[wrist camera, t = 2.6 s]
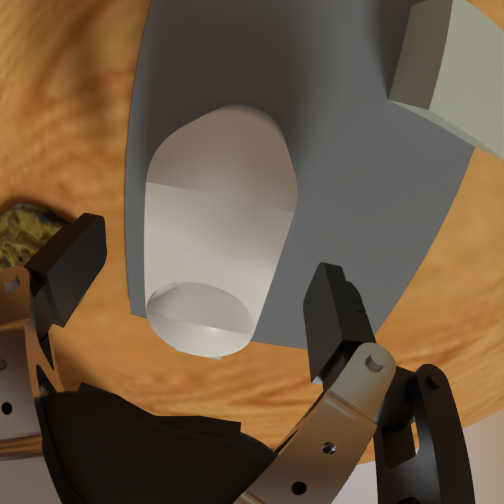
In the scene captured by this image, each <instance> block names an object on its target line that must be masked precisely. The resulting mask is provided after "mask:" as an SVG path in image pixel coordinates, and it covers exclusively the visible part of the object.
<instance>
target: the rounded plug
mask: <svg viewBox="0 0 504 504" xmlns="http://www.w3.org/2000/svg"><path fill="white" fill-rule="evenodd" d="M297 195H298V193H297V181H296V176H295V172H294V169H293V165H292V162H291V158H290V155H289V152H288V148H287V145H286V142H285V138H284V136H283V133H282V131H281V129H280V127H279V125H278V124H277V123H276V121H275V120H274V119H273V118H272V117H271V116H269V115H268V114H267V113H266V112H264V111H262V110H260V109H258V108H256V107H253V106H249V105H243V104H233V105H227V106H223V107H220V108H218V109H215V110H213V111H211V112H209V113H208V114H206V115H204V116H202V117H200V118H198V119H196V120H194V121H192V122H191V123H189V124H187V125H185V126H183V127H181V128H180V129H178V130H177V131H175V132H174V133H172V134H171V135H170V136H169V137H168V138H167V139H165V140H164V142H163V143H162V144H161V145H160V146H159V148H158V149H157V151H156V152H155V154H154V156H153V158H152V160H151V162H150V165H149V168H148V172H147V178H146V191H145V215H144V280H145V304H146V315H147V319H148V322H149V324H150V326H151V328H152V329H153V331H154V332H155V333H156V334H157V335H158V336H159V337H160V338H161V339H162V340H163V341H165V342H166V343H167V344H169V345H171V346H172V347H174V348H175V351H179V352H184V353H188V354H193V355H197V356H202V357H207V358H212V359H217V360H221V356H225V355H229V354H232V353H235V352H237V351H239V350H241V349H242V348H244V347H245V346H246V345H247V344H248V343H249V342H250V340H251V338H252V336H253V334H254V331H255V328H256V325H257V323H258V320H259V317H260V314H261V311H262V308H263V305H264V303H265V300H266V297H267V294H268V291H269V288H270V285H271V282H272V279H273V276H274V273H275V270H276V267H277V264H278V261H279V258H280V255H281V252H282V249H283V246H284V243H285V240H286V237H287V234H288V231H289V228H290V225H291V222H292V219H293V216H294V212H295V208H296V204H297Z"/></svg>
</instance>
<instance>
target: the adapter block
mask: <svg viewBox="0 0 504 504" xmlns="http://www.w3.org/2000/svg"><path fill="white" fill-rule="evenodd" d="M388 100H389V101H391V102H393V103H395V104H398V105H400V106H402V107H404V108H406V109H408V110H410V111H412V112H414V113H416V114H418V115H420V116H422V117H424V118H426V119H428V120H430V121H432V122H433V123H435V124H437V125H439V126H441V127H442V128H444V129H446V130H448V131H449V132H451V133H453V134H454V135H456V136H458V137H459V138H461V139H463V140H464V141H466V142H467V143H469V144H471V145H473V146H475V147H477V148H479V149H481V150H483V151H485V152H487V153H489V154H491V155H493V156H495V157H496V158H498V159H500V160H502V161H504V31H503V30H502V29H501V28H500V27H498V26H497V25H496V24H495V23H494V22H493V21H492V20H490V19H489V18H488V17H487V16H486V15H485V14H483V13H482V12H481V11H480V10H478V9H477V8H476V7H475V6H473V5H472V4H471V3H469V2H468V1H467V0H426V1H424V2H421V3H418V4H416V5H413V6H411V8H410V13H409V18H408V23H407V28H406V32H405V37H404V41H403V45H402V49H401V53H400V57H399V61H398V65H397V69H396V73H395V76H394V80H393V83H392V87H391V90H390V94H389V97H388Z"/></svg>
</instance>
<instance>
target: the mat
mask: <svg viewBox="0 0 504 504" xmlns="http://www.w3.org/2000/svg"><path fill="white" fill-rule="evenodd" d="M424 1H426V0H152V2H151V5H150V9H149V13H148V17H147V21H146V25H145V29H144V33H143V38H142V42H141V47H140V52H139V57H138V63H137V69H136V74H135V81H134V87H133V95H132V102H131V110H130V120H129V130H128V142H127V157H126V178H125V238H126V260H127V275H128V288H129V298H130V308H131V314H133V315H136V316H140V317H144V318H147V315H146V304H145V280H144V215H145V191H146V178H147V172H148V168H149V165H150V162H151V160H152V158H153V156H154V154H155V152H156V151H157V149H158V148H159V146H160V145H161V144H162V143H163V142H164V140H165V139H167V138H168V137H169V136H170V135H171V134H172V133H174V132H175V131H177V130H178V129H180V128H181V127H183V126H185V125H187V124H189V123H191V122H192V121H194V120H196V119H198V118H200V117H202V116H204V115H206V114H208V113H209V112H211V111H213V110H215V109H218V108H220V107H223V106H227V105H233V104H243V105H249V106H253V107H256V108H258V109H260V110H262V111H264V112H266V113H267V114H268V115H269V116H271V117H272V118H273V119H274V120H275V121H276V123H277V124H278V125H279V127H280V129H281V131H282V133H283V136H284V138H285V142H286V145H287V148H288V152H289V155H290V158H291V162H292V165H293V169H294V172H295V176H296V181H297V193H298V195H297V204H296V208H295V212H294V216H293V219H292V222H291V225H290V228H289V231H288V234H287V237H286V240H285V243H284V246H283V249H282V252H281V255H280V258H279V261H278V264H277V267H276V270H275V273H274V276H273V279H272V282H271V285H270V288H269V291H268V294H267V297H266V300H265V303H264V305H263V308H262V311H261V314H260V317H259V320H258V323H257V325H256V328H255V331H254V334H253V336H252V338H251V340H250V341H255V342H261V343H267V344H273V345H280V346H286V347H294V348H301V349H308V347H307V338H306V330H305V322H304V313H303V302H304V297H305V294H306V292H307V290H308V287H309V285H310V283H311V280H312V278H313V276H314V274H315V271H316V269H317V267H318V265H319V263H320V262H324V263H329V264H334V265H339V266H341V267H342V269H343V272H344V275H345V278H346V281H349V282H352V284H353V285H354V286H355V287H356V289H357V290H358V291H359V293H360V295H361V298H362V301H363V305H364V307H365V310H366V314H367V316H368V319H369V322H370V325H371V328H372V331H373V334H374V335H375V334H376V332H377V331H378V329H379V328H380V327H381V325H382V324H383V322H384V321H385V320H386V318H387V317H388V315H389V314H390V312H391V311H392V309H393V308H394V306H395V305H396V303H397V302H398V300H399V299H400V297H401V296H402V294H403V293H404V291H405V289H406V288H407V286H408V285H409V283H410V281H411V280H412V278H413V276H414V275H415V273H416V271H417V270H418V268H419V266H420V265H421V263H422V261H423V259H424V258H425V256H426V254H427V252H428V250H429V249H430V247H431V245H432V243H433V241H434V239H435V237H436V235H437V234H438V232H439V230H440V228H441V226H442V224H443V222H444V220H445V217H446V215H447V213H448V211H449V209H450V207H451V205H452V203H453V200H454V198H455V196H456V194H457V191H458V189H459V187H460V184H461V182H462V179H463V177H464V174H465V172H466V169H467V167H468V164H469V162H470V159H471V156H472V153H473V151H474V148H475V146H473V145H471V144H469V143H467V142H466V141H464V140H463V139H461V138H459V137H458V136H456V135H454V134H453V133H451V132H449V131H448V130H446V129H444V128H442V127H441V126H439V125H437V124H435V123H433V122H432V121H430V120H428V119H426V118H424V117H422V116H420V115H418V114H416V113H414V112H412V111H410V110H408V109H406V108H404V107H402V106H400V105H398V104H395V103H393V102H391V101H389V100H388V97H389V94H390V90H391V87H392V83H393V80H394V76H395V73H396V69H397V65H398V61H399V57H400V53H401V49H402V45H403V41H404V37H405V32H406V28H407V23H408V18H409V13H410V8H411V6H413V5H416V4H418V3H421V2H424Z"/></svg>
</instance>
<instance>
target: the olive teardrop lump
mask: <svg viewBox="0 0 504 504" xmlns="http://www.w3.org/2000/svg"><path fill="white" fill-rule="evenodd" d="M67 225H69V224H68V223H66V222H65V221H64V220H62V219H58V218H56V217H55V216H54V214H53V212H52V211H51V210H50V209H48V208H47V207H44V206H40V205H37V204H31V203H17V204H14V205H12V206H11V207H9V208H8V209H7V210H5V211H4V212H3V213H1V214H0V272H2V271H3V270H5V269H7V268H9V267H12V266H21V267H24V266H25V264H26V263H27V262H28V261H29V260H30V259H31V258H32V257H33V256H34V255H35V254H36V253H37V252H38V250H39V249H40V248H41V247H42V246H43V245H46V242H47V241H48V240H49V239H50V238H51V239H52V236H53V235H54V234H55V233H56V232H57V231H58V230H59V229H61V228H63V227H65V226H67ZM84 296H85V294H84ZM84 296H83V297H82V299H81V301H82V300H83V298H84ZM81 301H80V302H81ZM80 302H79V304H80ZM79 304H78V305H79ZM78 305H77V306H78Z"/></svg>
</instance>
